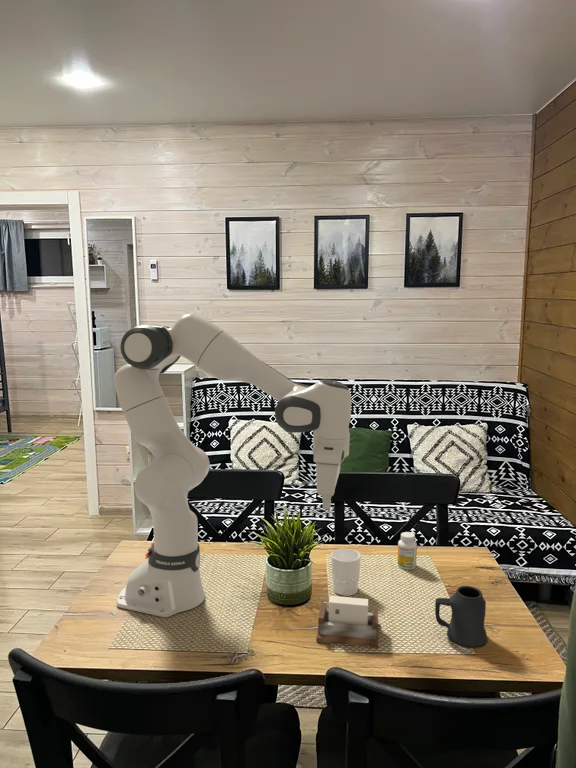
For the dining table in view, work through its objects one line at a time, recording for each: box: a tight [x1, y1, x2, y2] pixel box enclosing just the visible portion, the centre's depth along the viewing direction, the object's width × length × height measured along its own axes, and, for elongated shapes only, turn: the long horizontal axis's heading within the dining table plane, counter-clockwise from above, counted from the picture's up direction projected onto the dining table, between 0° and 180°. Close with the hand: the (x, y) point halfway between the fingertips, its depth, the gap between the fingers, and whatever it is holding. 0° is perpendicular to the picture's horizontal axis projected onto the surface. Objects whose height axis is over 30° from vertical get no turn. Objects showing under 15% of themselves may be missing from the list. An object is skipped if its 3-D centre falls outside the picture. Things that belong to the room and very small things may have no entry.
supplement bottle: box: [397, 531, 418, 571], centre depth 169 cm, size 5×5×10 cm
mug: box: [434, 585, 488, 649], centre depth 134 cm, size 12×9×11 cm
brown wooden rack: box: [316, 602, 380, 648], centre depth 136 cm, size 14×10×5 cm
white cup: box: [330, 548, 362, 597], centre depth 155 cm, size 8×8×10 cm
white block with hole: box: [328, 595, 369, 626], centre depth 135 cm, size 9×4×7 cm, turn 81°
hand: (328, 501), depth 142 cm, fingers open, 8 cm apart
